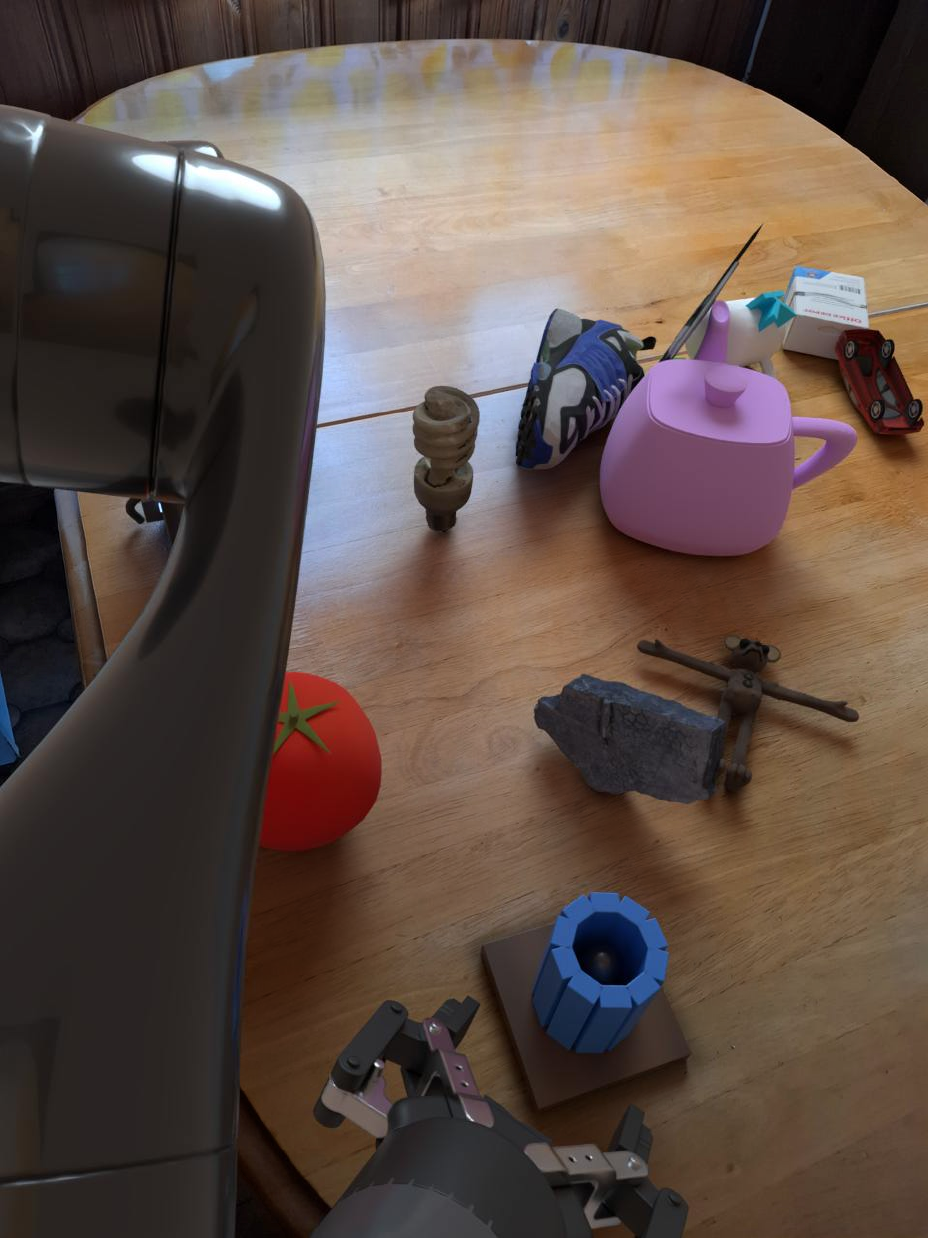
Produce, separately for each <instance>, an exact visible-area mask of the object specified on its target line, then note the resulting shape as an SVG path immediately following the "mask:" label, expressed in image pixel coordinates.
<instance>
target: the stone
mask: <svg viewBox="0 0 928 1238" xmlns="http://www.w3.org/2000/svg"><path fill="white" fill-rule="evenodd" d="M533 714H534V715H533V719H534V722H535V724H536V727H537V729H540V730H542V731H544V732H545V733H546V734H547V735H548V737H550V738H551V740H552V741H553V742H554V743H555V746H556V747H557V748H558V749H559V750H560V751H561V753H562V754H563V755H564V756H565V757H566V759H567V760H568V761H569V762H571V763H572V764H573V765H575V766H577V768H578V769H579V771H580V774H581V776H582V779H583V781H584V783H585V784H586V785H587V786H589V787H590V788H591V789H593V791H595V792H596V793H597V792H598V793H605V792H608V793H610V794H613V795H620V794H622V793H625V792H632V793H633V792H637V793H638V794H641V795H645V796H646V795H647V796H649V797H651V798H654V799H656V800H659V801H665V802H666V801H667V802H669V803H680V804H684V805H691V804H692V803H694V802H696V801H708V800H709V799H711V797H713V796H714V794H715V793H717V789H718V787H717V780H715V777H716V772H717V770H718V767H719V764H720V761H721V759H722V757H723V753H724V748H725V744H724V741H725V742H726V738H727V734H726V723H725V721H723V720H721V719H718V718H717V716H714V715H708V714H706V713H702V712H700V711H697V710H695V709H693V708H689V707H687V706H685V705H683V704H682V703H680V702H678V701H676V700H672V699H666V698H664V697H662V696H660V695H659V694H655V693H651V692H648V691H645V690H641V689H638V688H636V687H633V686H631V685H629V684H627V683H625V682H622V681H618V680H617V681H615V680H614V681H613V680H604V679H602V678H599V677H595V676H593V675H590V674H586V673H583V672H582V673H581V674H580V676H579V677H577V678H574V679H573V680H571V681H570V682H569V683H566V684H565V685H563V687H562V689H561V692H560V693H558V694H556V695H550V696H546V695H545V696H541V697H540V698H539V699H538V700H537V704H535V706H534V708H533ZM725 737H726V738H725Z"/></svg>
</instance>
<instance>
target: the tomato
mask: <svg viewBox="0 0 928 1238" xmlns="http://www.w3.org/2000/svg"><path fill="white" fill-rule="evenodd" d="M382 763H383V761H382V755H381V750H380V746H379V742H378V738H377V734H376V731H375V729H374V727H373V725H372V722H371V721H370V719H369V717H368V716H367V714H366V713H365V711H364V710H363V708H362V707H361V706H360V704H359V702H358V701H357V699H355V698H354V697H353V695H352V694H351V693H350V692H349V691H348V690H347V689H346V688H344V687H343V686H341V685H340V684H338V683H337V682H335V681H333V680H330V679H328V678H324V677H322V676H319V675H315V674H311V673H309V672H302V671H301V672H300V671H286V675H285V682H284V690H283V697H282V703H281V709H280V715H279V721H278V728H277V734H276V740H275V746H274V752H273V758H272V764H271V771H270V777H269V783H268V789H267V795H266V801H265V808H264V815H263V822H262V829H261V835H260V842H259V846H261V847H263V848H266V849H269V850H276V851H279V852H299V851H306V850H312V849H315V848H319V847H323V846H325V845H327V844H330V843H333V842H335V841H337V840H339V839H340V838H342V837H343V836H345V835H347V834H348V833H350V832H351V831H352V830H354V828H356V827H357V826H359V824H361V823H362V822H363V821H364V820H365V819H366V817H367V816H368V815H369V813H370V812H371V810H372V808H373V807H374V806H375V804H376V803H377V800H378V797H379V793H380V790H381V786H382V775H383V771H382V769H383V768H382V767H383V766H382Z"/></svg>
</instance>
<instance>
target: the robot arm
mask: <svg viewBox="0 0 928 1238" xmlns="http://www.w3.org/2000/svg"><path fill="white" fill-rule="evenodd" d="M325 273H326V272H325V260H324V255H323V250H322V244H321V238H320V232H319V230H318V227H317V223H316V221H315V218H314V216H313V214H312V212H311V210H310V208H309V205H308V204H307V203H306V201H305V200H304V198H303V197H302V196H301V195H300V194H299V193H298V192H297V190H295V188H293V187H292V186H290V185H289V184H288V183H286V182H285V181H282V180H281V179H279V178H277V177H275V176H272V175H270V174H268V173H265V172H262V171H261V170H258V169H255V168H252V167H250V166H248V165H244V164H241V163H240V162H239V163H238V162H235V161H233V160H230V159H226V157H225V156H224V154H223V152H222V151H221V149H219V147H218V146H217V145H215V144H214V143H213V142H210V141H208V140H201V139H193V140H192V139H185V140H183V139H182V140H168V141H166V140H163V141H162V140H158V141H157V140H155V141H153V140H148V139H144V138H140V137H137V136H132V135H128V134H124V133H120V132H116V131H112V130H108V129H104V128H100V127H96V126H91V125H87V124H83V123H79V122H75V121H71V120H67V119H63V118H58V117H55V116H51V114H49V113H45V112H40V111H36V110H32V109H27V108H22V107H17V106H13V105H6V104H2V103H1V104H0V482H2V483H7V484H8V483H9V484H16V485H26V486H32V487H38V488H45V489H55V490H62V491H70V492H77V493H78V492H79V493H85V494H95V495H104V496H111V497H120V498H128V499H127V501H126V503H125V512H126V514H127V515H128V516H129V517H130V518H131V519H132V520H134V522H136V524H138V525H143V524H145V522H146V524H150V523H156V522H162V521H164V525H165V529H166V534H167V537H168V542H169V545H170V548H171V551H170V553H169V556H168V559H167V561H166V564H165V566H164V567H163V570H162V572H161V574H160V576H159V578H158V581H157V583H156V585H155V587H154V588H153V591H152V593H151V595H150V596H149V599H148V600H147V602H146V603H145V605H144V607H143V608H142V610H141V612H140V614H139V615H138V617H137V619H136V620H135V622H134V623H133V625H132V626H131V627H130V628H129V630H128V631H127V633H126V634H125V635H124V636H123V638H122V640H121V641H120V642H119V644H118V645H117V646H116V648H115V649H114V650H113V652H112V653H111V655H110V656H109V657H108V659H107V660H106V662H105V663H104V664H103V665H102V667H101V668H100V670H99V671H98V672H97V674H96V675H95V677H94V678H93V680H91V681H90V683H89V684H88V686H87V687H86V688H85V689H84V690H83V692H81V694H79V696H78V697H77V698H76V700H75V701H74V702H73V703H72V705H71V706H70V707H69V708H68V709H67V711H66V712H65V713H63V715H62V716H61V718H60V719H59V720H58V721H57V723H55V725H53V727H52V729H50V730H49V732H48V733H47V734H46V735H45V737H44V738H43V739H42V740H41V741H40V742H39V744H37V746H36V747H35V748H34V749H33V750H32V751H31V752H30V753H29V754H28V756H27V757H26V758H25V759H24V760H23V761H22V763H21V764H20V765H19V766H17V768H16V769H15V770H14V771H13V773H11V775H10V776H9V777H8V778H7V779H6V781H5V782H4V783H2V784H1V786H0V1238H236V1223H237V1222H236V1221H237V1218H236V1217H237V1194H238V1192H237V1191H238V1164H239V1161H238V1160H239V1159H238V1158H239V1144H238V1143H237V1141H238V1140H239V1129H240V1127H239V1124H240V1093H241V1091H240V1090H241V1089H240V1087H241V1053H242V1052H241V1051H242V1050H241V1049H242V1048H241V1047H242V1027H243V1014H244V998H245V986H246V985H245V983H246V971H247V957H248V956H247V955H248V943H249V942H248V941H249V933H250V924H251V914H252V906H253V898H254V888H255V880H256V872H257V871H256V870H257V862H258V856H259V849H260V845H259V842H260V835H261V829H262V822H263V815H264V808H265V801H266V795H267V789H268V783H269V777H270V771H271V764H272V758H273V752H274V746H275V740H276V734H277V728H278V721H279V715H280V709H281V703H282V697H283V690H284V682H285V675H286V672H287V667H288V659H289V652H290V645H291V638H292V631H293V624H294V615H295V607H296V600H297V593H298V586H299V578H300V570H301V563H302V555H303V546H304V538H305V530H306V521H307V513H308V505H309V498H310V497H309V496H310V488H311V481H312V472H313V464H314V462H313V461H314V454H315V446H316V439H317V438H316V437H317V429H318V421H319V419H318V418H319V411H320V402H321V393H322V385H323V376H324V375H323V374H324V361H325V348H326V347H325V346H326V309H327V308H326V307H327V305H326V303H327V292H326V291H327V290H326V274H325ZM139 503H140V504H141V507H142V511H143V515H144V516H143V515H142V514H141V513H140V512H138V510H136V506H137V505H138V504H139ZM480 1006H481V1002H479V1001H478V1000H476V999H475V998H473V997H472V996H470V995H467V996H466V997H465V998H464V999H463V1000H462V1001H461V1002H460V1001H459V1000H458V999H456V998H449V999H446V1000H445V1001H444V1002H443V1003H442V1005H441V1006H440V1007H439V1008H438V1009H437V1010H436V1012H435V1013H434V1014H433V1015H432V1016H431V1017H426V1018H424V1019H423V1021H422V1022H420V1021H415V1020H413V1019H411V1018H409V1015H410V1014H409V1011H408V1009H407V1008H406V1006H405V1005H403V1004H402V1003H401V1002H398V1001H396V1000H393V999H386V1000H384V1001H383V1002H382V1004H381V1005H380V1006H379V1007H378V1008H377V1009H376V1011H375V1012H373V1014H372V1015H371V1017H370V1018H369V1019H368V1020H367V1021H366V1022H365V1024H363V1026H362V1027H361V1028H360V1030H359V1031H358V1032H357V1033H356V1035H355V1036H354V1037H353V1038H352V1039H351V1040H350V1042H349V1043H348V1044H347V1045H346V1046H345V1048H343V1050H342V1051H341V1053H339V1055H338V1057H337V1058H336V1061H335V1063H334V1065H333V1067H332V1069H331V1071H330V1073H329V1075H328V1077H327V1079H326V1081H325V1083H324V1085H323V1087H322V1090H321V1092H320V1094H319V1096H318V1098H317V1100H316V1103H315V1104H314V1106H313V1109H312V1115H313V1118H314V1120H316V1122H317V1123H319V1125H321V1126H322V1127H325V1128H327V1129H337V1128H339V1127H340V1126H341V1125H342V1124H343V1122H344V1120H346V1118H347V1119H348V1120H350V1121H351V1122H352V1123H354V1124H355V1125H357V1127H360V1128H361V1129H362V1130H364V1131H366V1132H367V1133H369V1134H370V1135H372V1136H373V1137H375V1144H374V1145H375V1151H374V1152H373V1154H371V1156H370V1158H369V1159H368V1160H367V1162H366V1163H365V1164H364V1165H363V1167H362V1168H361V1170H360V1171H359V1172H358V1173H357V1175H356V1176H355V1178H353V1180H352V1181H351V1182H350V1184H349V1185H348V1186H347V1187H346V1189H345V1190H344V1191H343V1193H342V1195H340V1197H338V1198H339V1199H338V1200H337V1201H336V1202H335V1204H334V1205H333V1206H332V1208H331V1209H330V1210H329V1211H328V1213H327V1214H326V1215H325V1216H324V1218H323V1219H322V1221H321V1222H320V1223H319V1224H318V1226H317V1227H316V1228H315V1230H314V1231H313V1232H312V1234H311V1235H310V1236H309V1238H594V1233H593V1229H600V1228H601V1229H602V1228H606V1227H613V1226H618V1225H621V1224H623V1225H624V1226H625V1227H626V1228H627V1229H628V1230H629V1231H630V1232H631V1233H632V1234H633V1235H634V1237H633V1238H683V1234H684V1231H685V1226H686V1223H687V1219H688V1215H689V1211H690V1209H689V1205H688V1203H687V1201H686V1200H685V1198H684V1197H683V1196H682V1195H681V1194H680V1193H678V1192H677V1191H676V1190H674V1189H672V1188H670V1187H662V1188H660V1190H659V1189H658V1188H657V1187H656V1186H655V1185H654V1184H653V1183H652V1181H651V1180H650V1178H649V1176H648V1175H649V1170H650V1169H649V1166H648V1164H649V1158H650V1155H651V1150H652V1145H653V1141H654V1136H653V1133H652V1130H651V1129H650V1128H649V1127H648V1126H646V1125H645V1124H643V1122H644V1118H645V1114H646V1113H645V1111H643V1110H642V1109H640V1108H639V1107H637V1106H636V1105H635V1104H633V1103H629V1105H628V1107H627V1108H626V1110H625V1112H624V1113H623V1116H622V1118H621V1120H620V1121H619V1123H618V1125H617V1127H616V1129H615V1131H614V1132H613V1135H612V1136H611V1139H610V1141H609V1144H608V1146H607V1150H606V1152H605V1151H604V1152H602V1150H601V1148H600V1147H599V1145H597V1144H596V1143H584V1144H583V1143H582V1144H574V1145H561V1146H552V1145H553V1142H554V1141H553V1140H552V1139H551V1138H549V1137H548V1136H546V1135H545V1134H544V1133H542V1132H541V1131H539V1130H538V1129H536V1128H534V1127H532V1126H531V1125H528V1124H526V1123H524V1122H523V1121H520V1120H518V1119H517V1118H516V1117H515V1116H514V1115H512V1113H510V1111H508V1110H507V1109H506V1108H505V1107H504V1106H503V1105H501V1104H500V1103H499V1102H497V1101H496V1100H495V1099H493V1098H492V1097H490V1096H489V1095H488V1094H486V1093H485V1094H484V1096H483V1097H482V1096H481V1093H480V1090H479V1087H478V1084H477V1082H476V1079H475V1077H474V1074H473V1071H472V1069H471V1065H470V1063H469V1060H468V1057H467V1055H466V1054H464V1053H460V1052H457V1051H456V1050H457V1048H458V1047H459V1045H461V1043H462V1041H463V1040H464V1038H465V1036H466V1034H467V1032H468V1031H469V1028H470V1027H471V1024H472V1022H473V1020H474V1018H475V1017H476V1015H477V1013H478V1011H479V1009H480ZM387 1061H389V1062H391V1063H392V1064H395V1065H398V1066H400V1067H399V1069H400V1070H399V1071H400V1074H401V1079H402V1082H403V1085H404V1090H405V1093H406V1097H402V1098H400V1099H398V1100H397V1101H395V1102H394V1103H393V1102H392V1101H391V1100H390V1099H389V1098H388V1096H387V1094H386V1092H385V1091H386V1086H387V1080H386V1078H385V1077H384V1075H383V1072H384V1070H385V1068H386V1063H387Z"/></svg>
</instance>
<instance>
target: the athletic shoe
mask: <svg viewBox="0 0 928 1238" xmlns="http://www.w3.org/2000/svg"><path fill="white" fill-rule="evenodd" d="M656 344H657V337H655V336H653V335H652V336H651V335H650V336H647V337H644V338H643V339H640V338H639V337H638V336H636V335H634V334H633V333H631V332H630V331H629V330H627V329H624V328H623V326H622V325H621V324H618V323H614V322H612V321H611V322H610V321H608V320H604V319H597V320H593V319H589V318H581V317H579V316H578V315H576V314H574V313H572V312H570V311H567V310H565V309H562V308H555V309H554V310H553V311H552V312H551V313H550V315H549V317H548V319H547V321H546V324H545V326H544V330H543V333H542V336H541V339H540V344H539V347H538V352H537V356H536V359H535V362H533V364H532V367H531V370H530V378H529V380H528V383H527V388H526V393H525V396H524V400H523V403H522V407H521V411H520V420H519V422H518V426H517V429H518V431H517V436H516V438H517V440H516V443H515V453H514V454H515V457H516V460H515V463H516V466H517V467H520V468H522V470H523V469H524V470H533V471H534V470H547V469H548V470H549V469H552V468H554V467H556V466H558V465H559V464H560V463H561V462H563V461H564V460H565V459H566V457H567V456H569V454H570V453H571V452H572V450H573V449H574V448H576V447H577V446H578V445H579V444H580V443H581V441H582V440H585V439H586V438H587V436H588V435H590V434H592V433H594V432H595V431H597V430H600V429H602V428H603V427H605V426H606V425H607V424H608V423H609V422H611V421H612V420H613V419H614V418H616V417H617V415H618V413H619V410H620V409H621V407H622V405H623V404H624V402H625V400H626V399H627V398H628V396H629V395H630V393H631V392H632V391H633V390H634V388H635V387H636V386H637V385H638V383H639V382H640V381H641V380H642V379H643V377H644V376H645V375H646V374H645V370H644V368H643V367H642V365H640V364H639V363H638V360H637V355H638V354H637V353H638V352H639V351H640V352H641V351H643V352H644V351H650V350H654V349H655V347H656Z"/></svg>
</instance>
